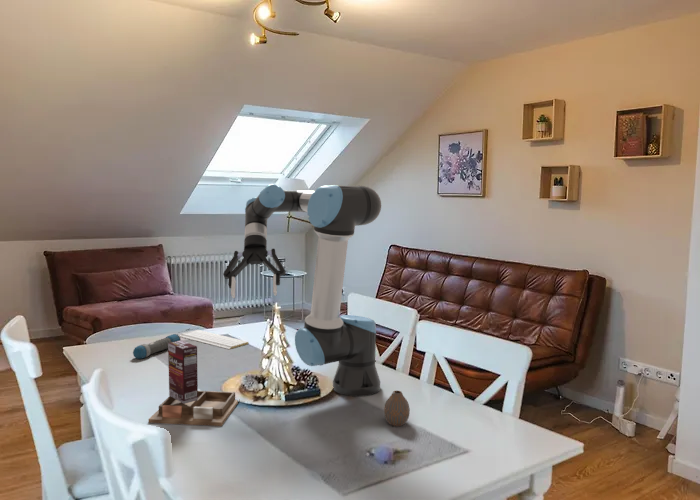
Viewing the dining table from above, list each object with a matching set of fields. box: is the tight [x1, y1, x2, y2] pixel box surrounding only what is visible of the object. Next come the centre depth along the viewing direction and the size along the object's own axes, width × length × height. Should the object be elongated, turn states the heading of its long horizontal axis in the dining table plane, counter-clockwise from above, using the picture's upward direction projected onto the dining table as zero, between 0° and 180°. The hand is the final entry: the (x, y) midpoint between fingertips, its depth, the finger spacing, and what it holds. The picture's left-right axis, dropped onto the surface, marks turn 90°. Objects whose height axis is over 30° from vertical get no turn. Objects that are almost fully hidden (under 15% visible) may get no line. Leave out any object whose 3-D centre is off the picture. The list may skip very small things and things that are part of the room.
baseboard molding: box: [178, 328, 249, 350], centre depth 239 cm, size 31×3×12 cm
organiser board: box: [147, 390, 239, 427], centre depth 163 cm, size 20×18×4 cm
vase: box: [383, 390, 411, 427], centre depth 157 cm, size 7×7×9 cm
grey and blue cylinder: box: [132, 333, 182, 360], centre depth 221 cm, size 5×22×5 cm, turn 157°
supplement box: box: [167, 339, 199, 404], centre depth 165 cm, size 9×5×16 cm, turn 45°
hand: (253, 295), depth 187 cm, fingers open, 13 cm apart
